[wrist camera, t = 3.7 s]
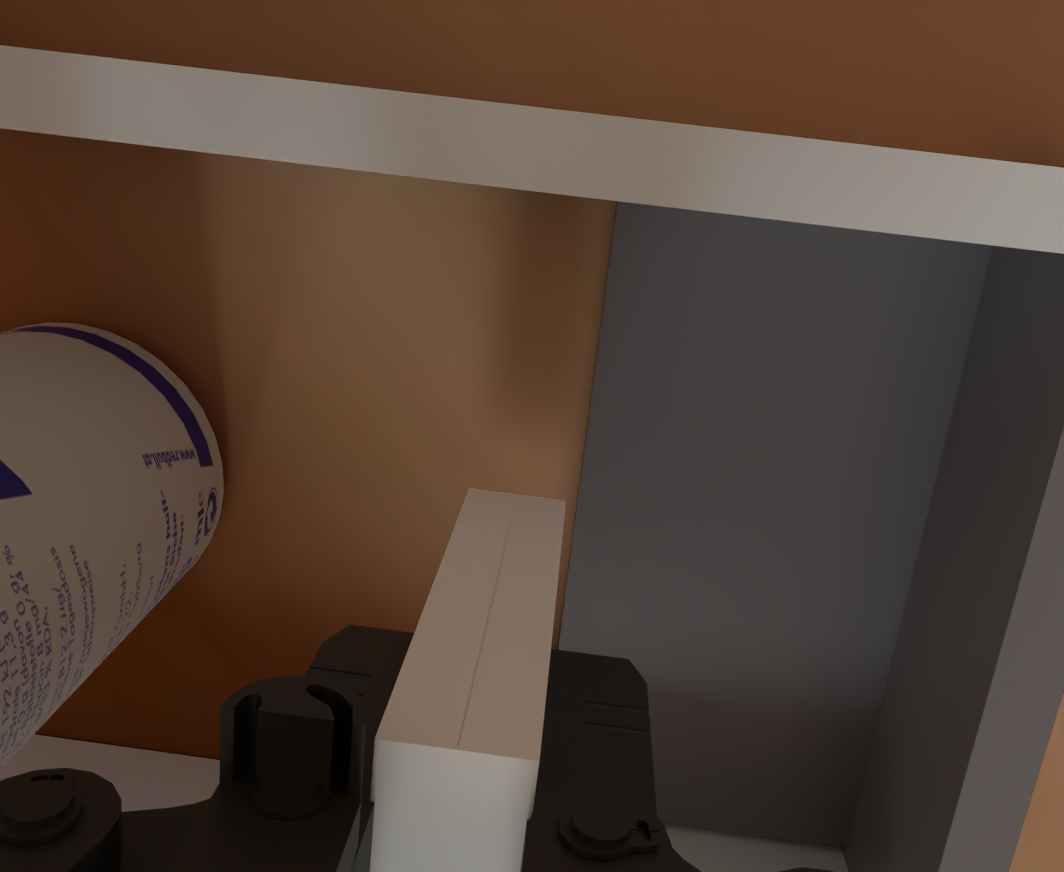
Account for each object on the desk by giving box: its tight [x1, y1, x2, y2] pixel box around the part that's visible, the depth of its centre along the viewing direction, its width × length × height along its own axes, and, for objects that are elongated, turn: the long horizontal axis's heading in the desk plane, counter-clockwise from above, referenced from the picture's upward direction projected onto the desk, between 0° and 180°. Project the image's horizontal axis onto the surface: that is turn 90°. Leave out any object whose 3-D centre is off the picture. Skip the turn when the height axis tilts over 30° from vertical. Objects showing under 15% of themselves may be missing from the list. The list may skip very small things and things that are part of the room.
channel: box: [0, 45, 1064, 872], centre depth 16 cm, size 23×14×4 cm, turn 84°
